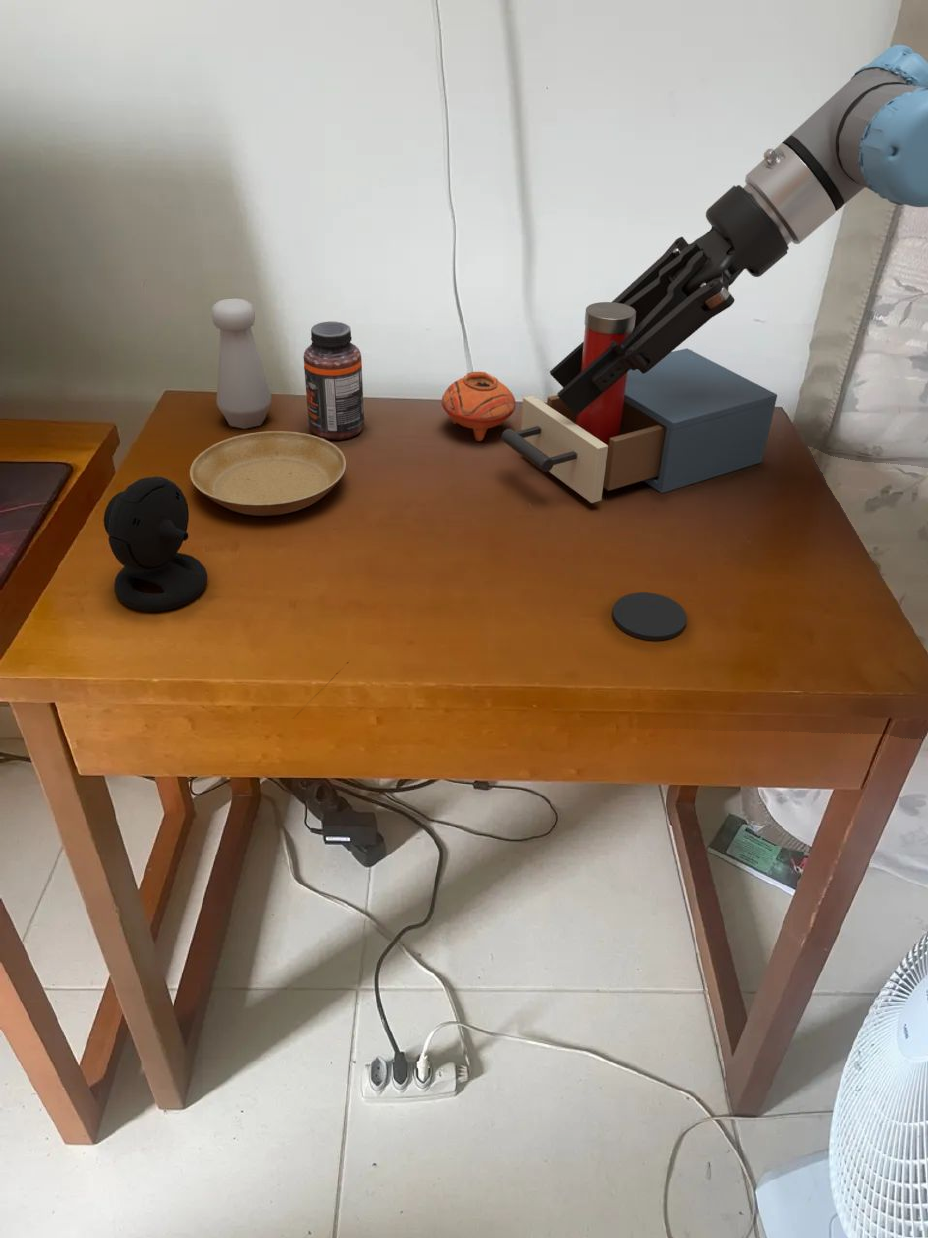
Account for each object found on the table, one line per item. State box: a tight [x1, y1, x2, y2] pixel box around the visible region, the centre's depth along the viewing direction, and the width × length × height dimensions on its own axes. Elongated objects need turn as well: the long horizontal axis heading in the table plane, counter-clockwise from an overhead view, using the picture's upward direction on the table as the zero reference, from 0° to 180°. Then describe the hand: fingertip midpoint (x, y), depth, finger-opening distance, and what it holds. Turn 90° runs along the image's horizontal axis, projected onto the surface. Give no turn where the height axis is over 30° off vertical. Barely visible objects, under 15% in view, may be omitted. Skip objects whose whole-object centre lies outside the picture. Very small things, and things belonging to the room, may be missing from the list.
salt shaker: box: [211, 298, 272, 430], centre depth 103 cm, size 6×6×13 cm
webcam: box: [103, 475, 208, 612], centre depth 79 cm, size 8×8×10 cm
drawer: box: [501, 394, 667, 504], centre depth 97 cm, size 17×12×6 cm
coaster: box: [611, 591, 688, 642], centre depth 80 cm, size 6×6×1 cm
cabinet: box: [624, 347, 778, 494], centre depth 102 cm, size 14×14×8 cm
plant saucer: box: [189, 430, 347, 517], centre depth 95 cm, size 15×15×3 cm
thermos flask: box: [576, 301, 636, 456], centre depth 94 cm, size 5×5×14 cm
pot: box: [441, 371, 517, 442], centre depth 105 cm, size 8×8×7 cm
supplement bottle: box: [303, 320, 365, 441], centre depth 103 cm, size 6×6×11 cm
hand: (563, 392), depth 94 cm, fingers closed on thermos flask, 4 cm apart
